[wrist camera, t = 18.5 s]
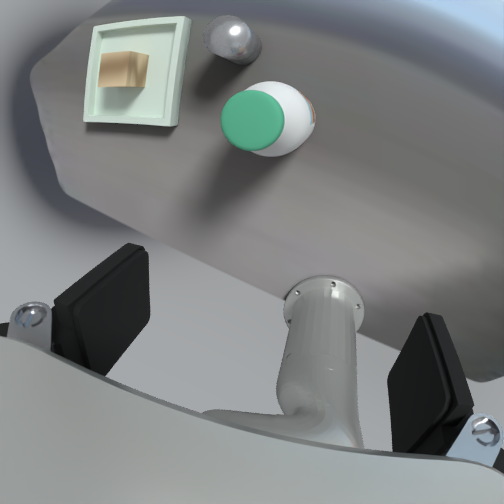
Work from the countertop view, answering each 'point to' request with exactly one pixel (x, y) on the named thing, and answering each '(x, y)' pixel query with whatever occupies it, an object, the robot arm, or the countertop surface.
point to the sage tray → (157, 79)
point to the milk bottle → (268, 119)
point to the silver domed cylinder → (232, 40)
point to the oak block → (123, 69)
